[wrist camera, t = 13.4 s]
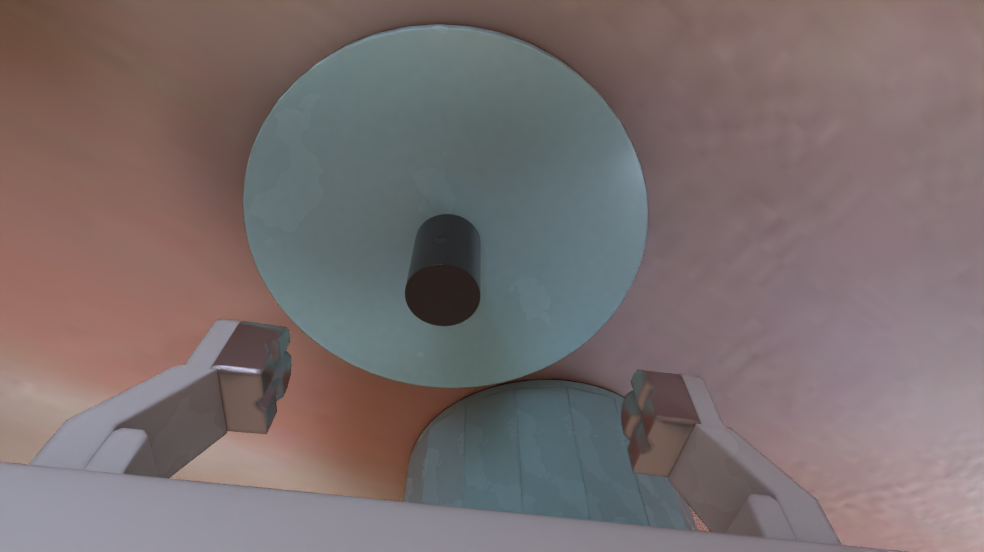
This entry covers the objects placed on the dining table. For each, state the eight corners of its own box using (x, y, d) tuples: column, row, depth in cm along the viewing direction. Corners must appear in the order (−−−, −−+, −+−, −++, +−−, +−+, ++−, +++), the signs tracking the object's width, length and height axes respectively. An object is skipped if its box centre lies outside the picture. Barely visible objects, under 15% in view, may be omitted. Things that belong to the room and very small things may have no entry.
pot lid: (692, 52, 18) (750, 90, 14) (592, 382, 26) (612, 465, 22) (230, -10, 17) (155, 12, 13) (271, 355, 25) (231, 438, 21)
